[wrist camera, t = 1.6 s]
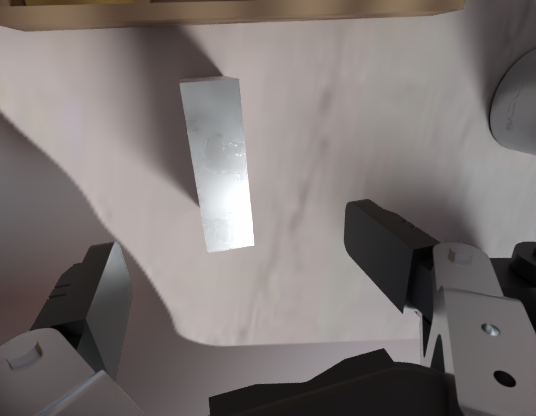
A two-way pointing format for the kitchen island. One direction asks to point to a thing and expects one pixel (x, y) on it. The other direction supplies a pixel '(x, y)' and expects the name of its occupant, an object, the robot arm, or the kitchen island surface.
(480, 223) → the kitchen island surface
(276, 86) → the kitchen island surface
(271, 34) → the kitchen island surface
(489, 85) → the kitchen island surface
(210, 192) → the panel
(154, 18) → the rack
